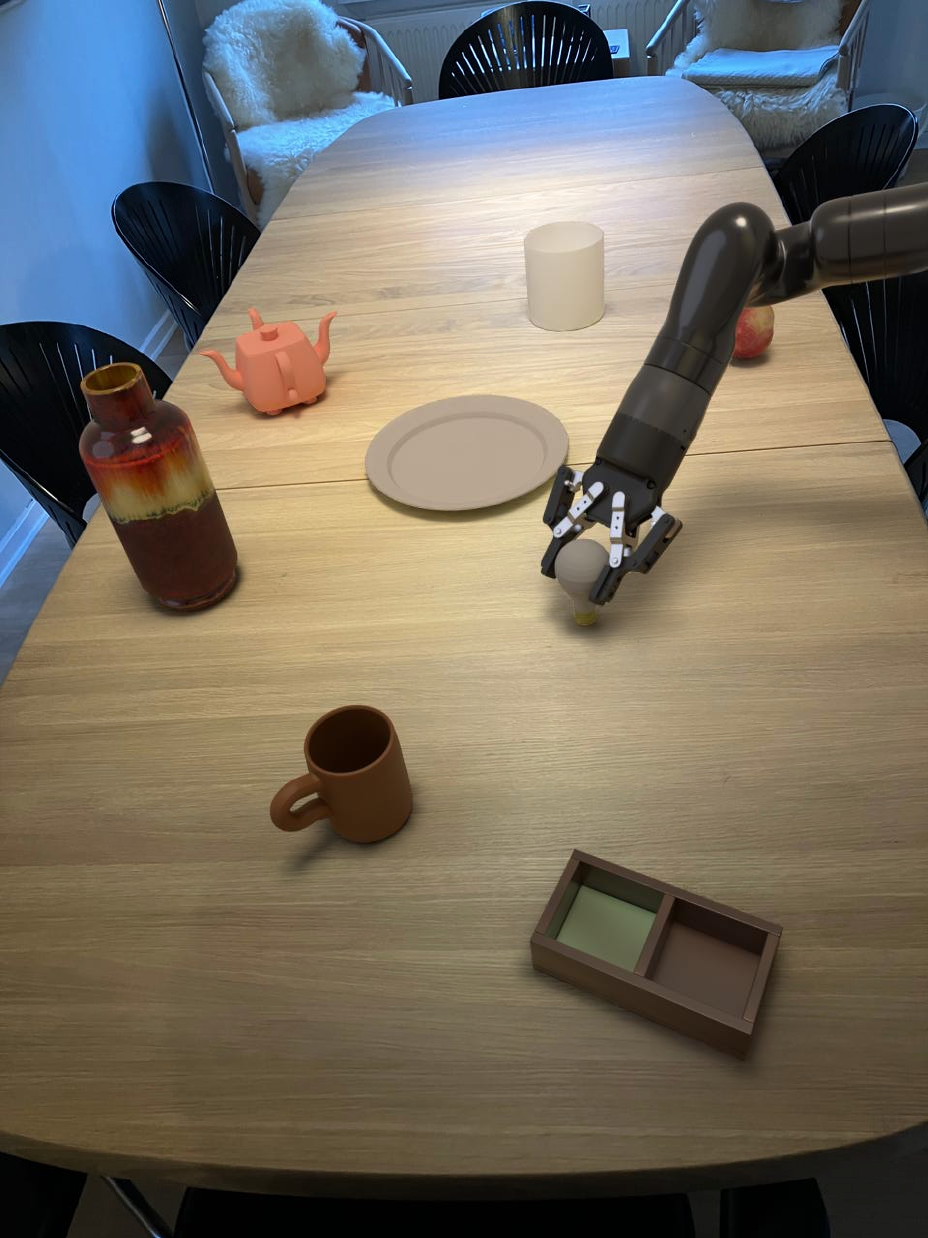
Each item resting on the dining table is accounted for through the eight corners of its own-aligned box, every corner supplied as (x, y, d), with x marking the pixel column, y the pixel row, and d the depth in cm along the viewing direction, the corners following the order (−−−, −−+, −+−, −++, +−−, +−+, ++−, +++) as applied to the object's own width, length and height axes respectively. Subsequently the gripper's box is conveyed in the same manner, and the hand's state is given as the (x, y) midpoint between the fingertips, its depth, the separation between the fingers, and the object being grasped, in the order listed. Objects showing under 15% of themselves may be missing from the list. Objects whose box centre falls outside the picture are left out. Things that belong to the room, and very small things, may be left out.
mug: (322, 899, 73) (293, 832, 67) (268, 844, 78) (236, 776, 71) (432, 805, 79) (416, 735, 72) (376, 758, 83) (356, 688, 77)
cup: (513, 318, 144) (507, 241, 136) (564, 290, 149) (561, 214, 141) (568, 338, 137) (565, 258, 129) (620, 309, 142) (620, 230, 134)
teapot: (219, 419, 131) (195, 348, 124) (268, 370, 141) (248, 301, 133) (308, 429, 126) (289, 355, 119) (353, 377, 136) (337, 306, 128)
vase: (264, 579, 104) (191, 368, 86) (181, 633, 99) (86, 420, 81) (210, 542, 110) (132, 338, 92) (130, 591, 105) (30, 385, 87)
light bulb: (617, 637, 91) (617, 559, 84) (562, 645, 91) (558, 567, 84) (607, 600, 95) (605, 523, 88) (554, 608, 95) (549, 531, 88)
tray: (576, 877, 72) (574, 848, 69) (776, 955, 66) (783, 926, 63) (532, 968, 67) (529, 940, 64) (744, 1061, 61) (750, 1035, 58)
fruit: (762, 373, 124) (769, 317, 118) (706, 365, 127) (710, 309, 121) (779, 347, 128) (786, 291, 123) (725, 339, 131) (729, 285, 126)
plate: (433, 394, 129) (431, 381, 128) (602, 427, 118) (602, 413, 117) (327, 495, 114) (324, 481, 113) (509, 543, 103) (508, 529, 102)
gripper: (575, 390, 86) (496, 552, 89) (702, 440, 78) (611, 617, 81) (612, 415, 92) (537, 566, 95) (734, 464, 84) (648, 628, 87)
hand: (571, 589), depth 88 cm, fingers closed on light bulb, 5 cm apart
